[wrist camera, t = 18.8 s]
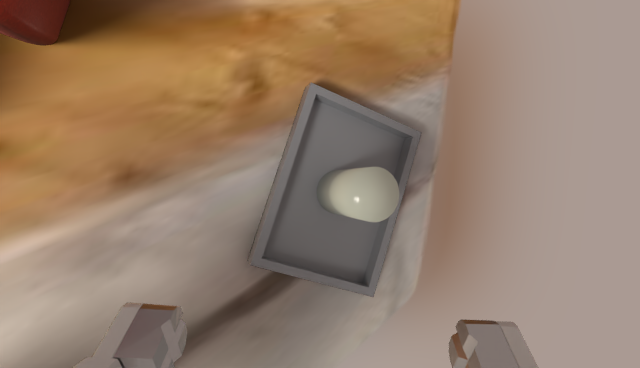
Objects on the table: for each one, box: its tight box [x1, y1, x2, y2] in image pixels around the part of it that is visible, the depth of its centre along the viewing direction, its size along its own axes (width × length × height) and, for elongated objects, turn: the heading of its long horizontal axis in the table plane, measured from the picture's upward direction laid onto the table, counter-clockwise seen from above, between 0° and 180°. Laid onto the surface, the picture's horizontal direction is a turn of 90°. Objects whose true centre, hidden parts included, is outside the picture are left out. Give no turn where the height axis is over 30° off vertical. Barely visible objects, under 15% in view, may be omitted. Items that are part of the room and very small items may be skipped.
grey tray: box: [247, 83, 422, 297], centre depth 43 cm, size 22×16×2 cm
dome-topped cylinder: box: [317, 167, 399, 222], centre depth 39 cm, size 6×6×10 cm
